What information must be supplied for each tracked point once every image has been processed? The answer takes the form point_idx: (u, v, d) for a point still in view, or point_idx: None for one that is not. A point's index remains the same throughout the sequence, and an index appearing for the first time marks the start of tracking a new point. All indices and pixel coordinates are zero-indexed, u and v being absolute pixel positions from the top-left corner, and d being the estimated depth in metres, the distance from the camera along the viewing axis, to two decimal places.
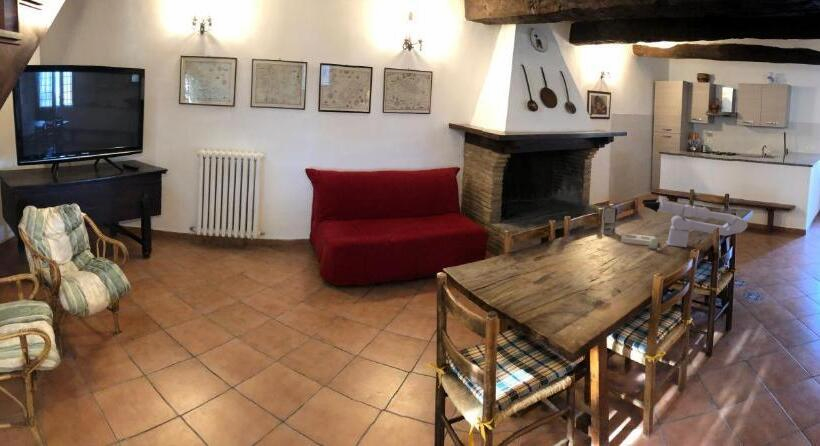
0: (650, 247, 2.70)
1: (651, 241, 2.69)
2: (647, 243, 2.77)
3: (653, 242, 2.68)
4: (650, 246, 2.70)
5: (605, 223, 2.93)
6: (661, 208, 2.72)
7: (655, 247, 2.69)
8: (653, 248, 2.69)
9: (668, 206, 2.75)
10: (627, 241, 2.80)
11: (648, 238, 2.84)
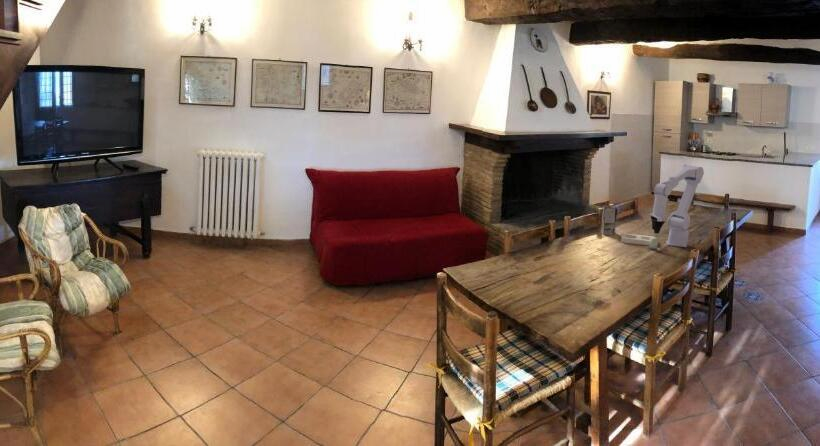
0: (650, 247, 2.70)
1: (651, 241, 2.69)
2: (647, 243, 2.77)
3: (653, 242, 2.68)
4: (650, 246, 2.70)
5: (605, 223, 2.93)
6: (659, 219, 2.60)
7: (655, 247, 2.69)
8: (653, 248, 2.69)
9: (658, 209, 2.63)
10: (627, 241, 2.80)
11: (648, 238, 2.84)
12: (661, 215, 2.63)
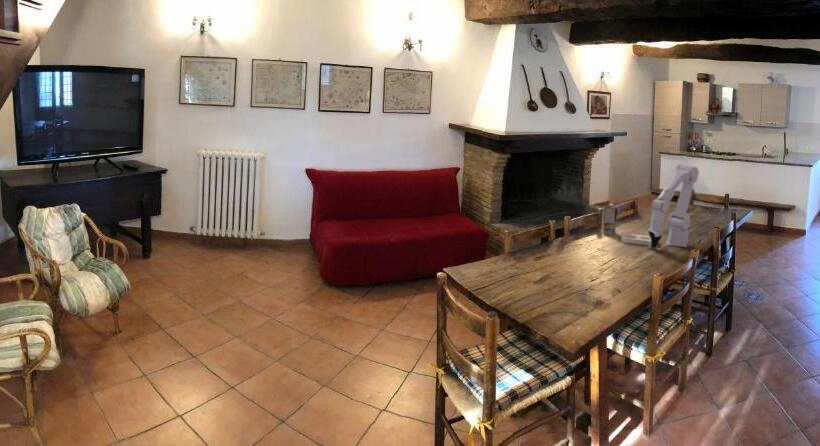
0: (650, 247, 2.70)
1: None
2: (647, 243, 2.77)
3: None
4: (650, 246, 2.70)
5: (605, 223, 2.93)
6: (657, 234, 2.62)
7: None
8: (653, 248, 2.69)
9: (655, 225, 2.65)
10: (627, 241, 2.80)
11: (648, 238, 2.84)
12: (658, 230, 2.65)
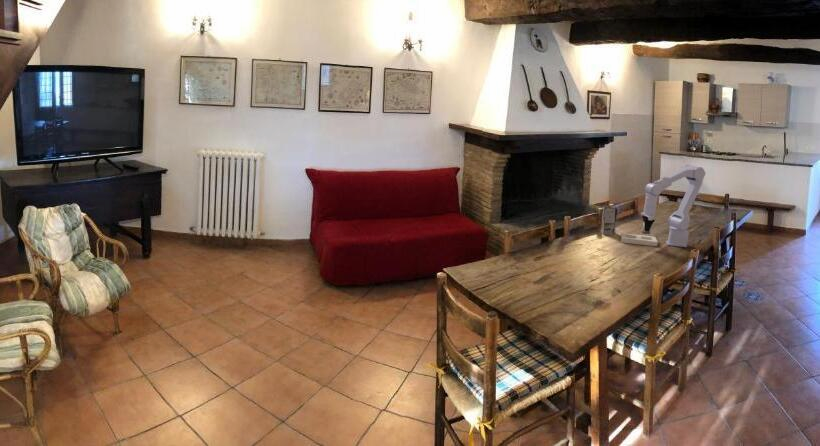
0: (643, 231, 2.73)
1: (644, 225, 2.72)
2: (647, 243, 2.77)
3: None
4: (643, 230, 2.73)
5: (605, 223, 2.93)
6: (650, 218, 2.65)
7: None
8: (646, 232, 2.72)
9: (648, 209, 2.69)
10: (627, 241, 2.80)
11: (648, 238, 2.84)
12: (652, 214, 2.69)
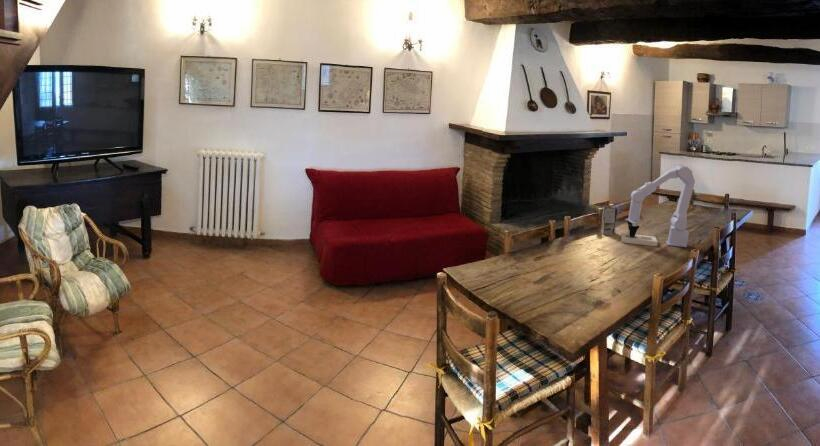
0: None
1: (629, 233, 2.83)
2: (647, 243, 2.77)
3: None
4: None
5: (605, 223, 2.93)
6: (634, 224, 2.75)
7: None
8: None
9: (633, 215, 2.79)
10: (627, 241, 2.80)
11: (648, 238, 2.84)
12: (636, 220, 2.79)
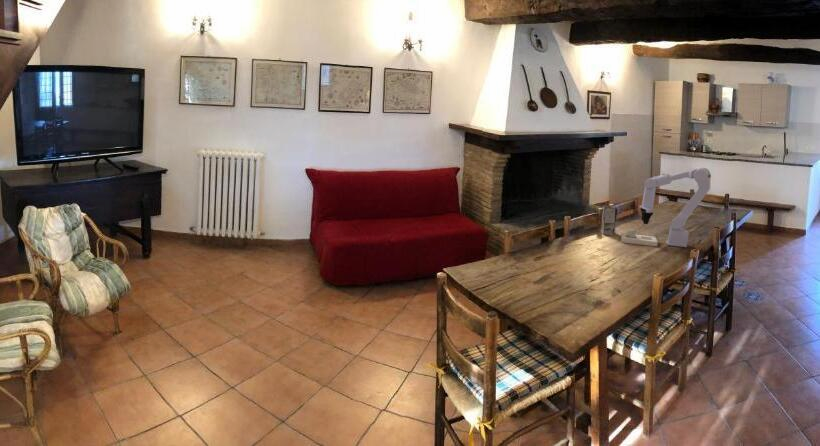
0: None
1: (629, 233, 2.83)
2: (647, 243, 2.77)
3: (631, 234, 2.82)
4: None
5: (605, 223, 2.93)
6: (648, 210, 2.80)
7: None
8: None
9: (646, 202, 2.83)
10: (627, 241, 2.80)
11: (648, 238, 2.84)
12: (650, 207, 2.84)
